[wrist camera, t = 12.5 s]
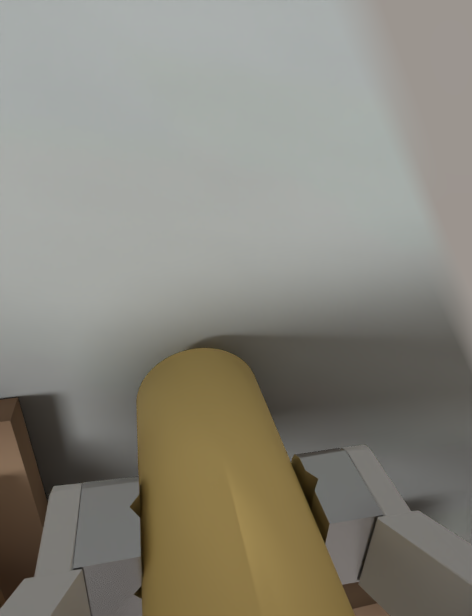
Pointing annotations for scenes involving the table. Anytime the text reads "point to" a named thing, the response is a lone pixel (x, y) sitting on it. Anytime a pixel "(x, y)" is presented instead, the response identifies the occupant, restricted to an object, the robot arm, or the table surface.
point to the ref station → (18, 501)
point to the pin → (223, 500)
